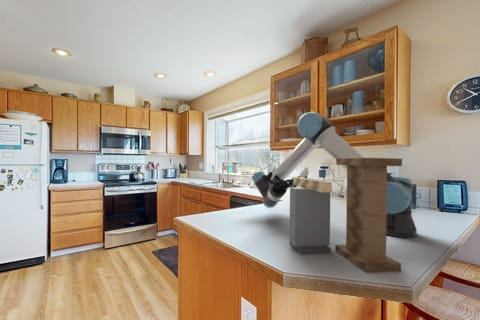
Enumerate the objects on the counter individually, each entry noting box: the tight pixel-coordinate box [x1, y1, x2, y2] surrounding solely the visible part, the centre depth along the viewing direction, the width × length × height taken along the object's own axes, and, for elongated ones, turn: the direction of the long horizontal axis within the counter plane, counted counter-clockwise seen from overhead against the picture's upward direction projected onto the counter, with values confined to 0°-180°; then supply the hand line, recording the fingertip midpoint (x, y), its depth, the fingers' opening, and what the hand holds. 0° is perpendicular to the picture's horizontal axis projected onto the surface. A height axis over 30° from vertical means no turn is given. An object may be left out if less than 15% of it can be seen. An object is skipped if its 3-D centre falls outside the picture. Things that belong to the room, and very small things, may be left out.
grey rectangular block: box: [288, 186, 332, 255], centre depth 79 cm, size 10×12×20 cm
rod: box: [292, 176, 333, 193], centre depth 79 cm, size 22×3×3 cm, turn 9°
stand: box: [334, 157, 403, 274], centre depth 70 cm, size 15×10×30 cm, turn 9°
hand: (291, 169), depth 96 cm, fingers open, 13 cm apart
